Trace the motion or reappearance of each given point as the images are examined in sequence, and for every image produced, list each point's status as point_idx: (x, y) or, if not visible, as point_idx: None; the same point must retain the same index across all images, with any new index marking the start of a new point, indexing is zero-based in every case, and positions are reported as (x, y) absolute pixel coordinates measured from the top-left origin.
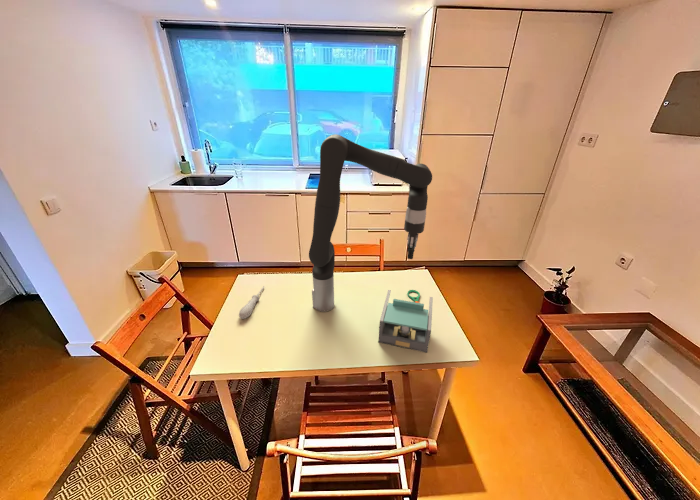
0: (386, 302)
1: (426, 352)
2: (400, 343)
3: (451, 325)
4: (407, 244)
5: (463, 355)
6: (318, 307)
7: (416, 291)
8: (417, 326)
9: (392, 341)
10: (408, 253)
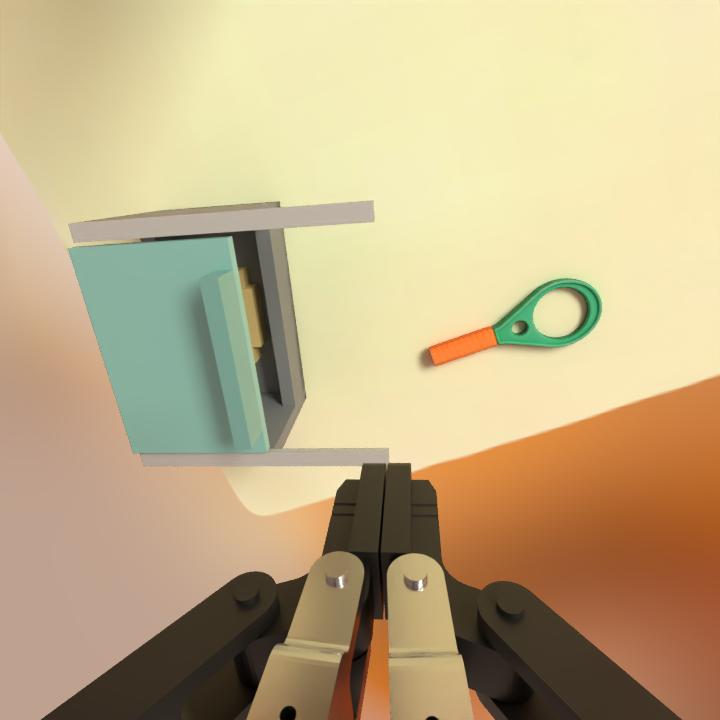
0: (234, 223)
1: None
2: None
3: None
4: (260, 682)
5: (248, 501)
6: None
7: (590, 326)
8: (125, 414)
9: None
10: (355, 520)
